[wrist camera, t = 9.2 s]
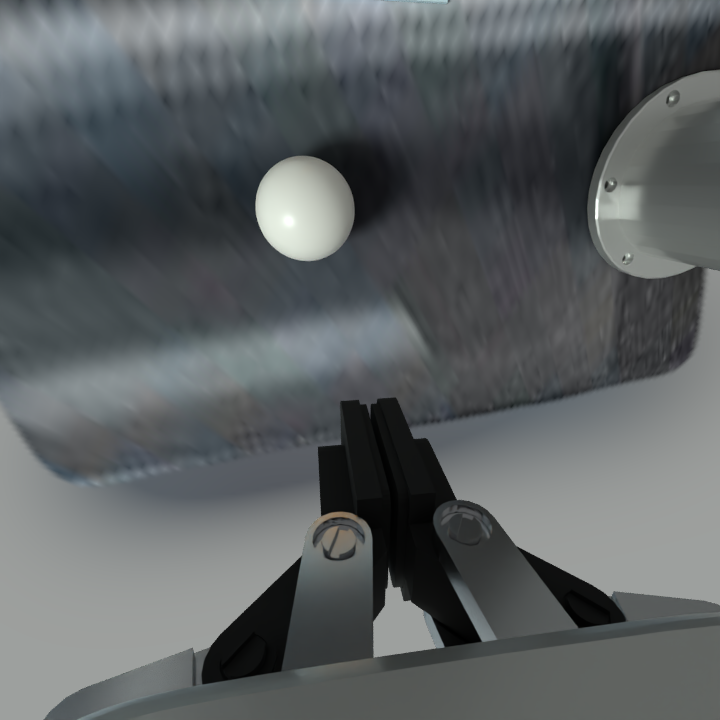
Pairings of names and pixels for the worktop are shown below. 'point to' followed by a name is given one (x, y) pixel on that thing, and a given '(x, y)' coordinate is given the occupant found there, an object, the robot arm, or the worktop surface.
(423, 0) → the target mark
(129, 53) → the worktop surface
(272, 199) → the cue ball
